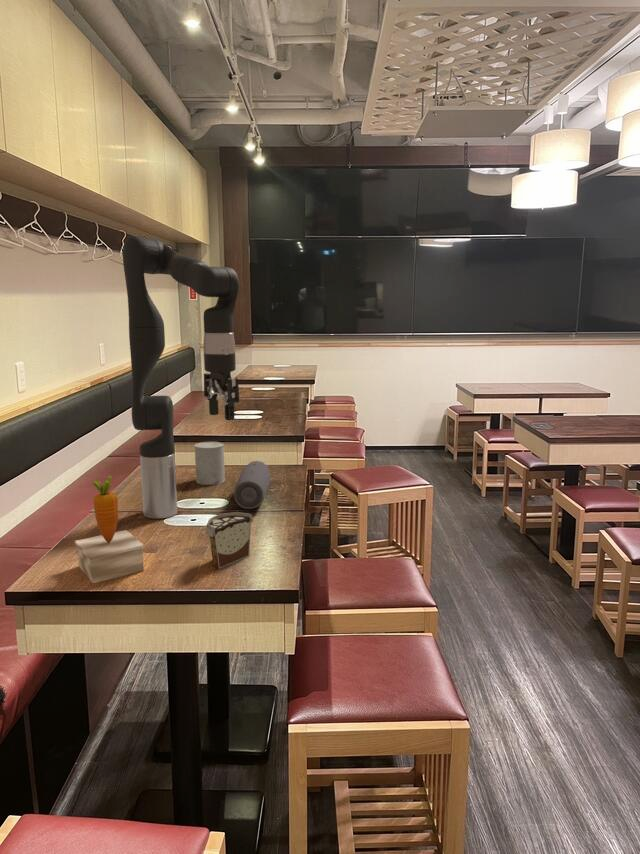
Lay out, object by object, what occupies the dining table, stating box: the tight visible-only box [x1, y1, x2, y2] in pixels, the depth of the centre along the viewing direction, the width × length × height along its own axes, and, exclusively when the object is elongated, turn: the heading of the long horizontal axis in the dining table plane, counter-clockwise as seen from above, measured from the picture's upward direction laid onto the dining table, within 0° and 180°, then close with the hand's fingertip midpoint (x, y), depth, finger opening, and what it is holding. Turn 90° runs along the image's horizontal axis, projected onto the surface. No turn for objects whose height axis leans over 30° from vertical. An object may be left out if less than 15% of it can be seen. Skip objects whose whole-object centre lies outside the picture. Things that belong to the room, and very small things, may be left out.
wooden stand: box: [74, 529, 145, 584], centre depth 140 cm, size 12×12×6 cm
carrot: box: [93, 475, 119, 543], centre depth 138 cm, size 5×5×15 cm
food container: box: [205, 511, 254, 570], centre depth 145 cm, size 12×6×10 cm, turn 141°
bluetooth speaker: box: [233, 460, 271, 510], centre depth 187 cm, size 23×9×10 cm, turn 0°
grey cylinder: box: [194, 441, 226, 486], centre depth 208 cm, size 10×10×12 cm
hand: (221, 417), depth 157 cm, fingers open, 8 cm apart
